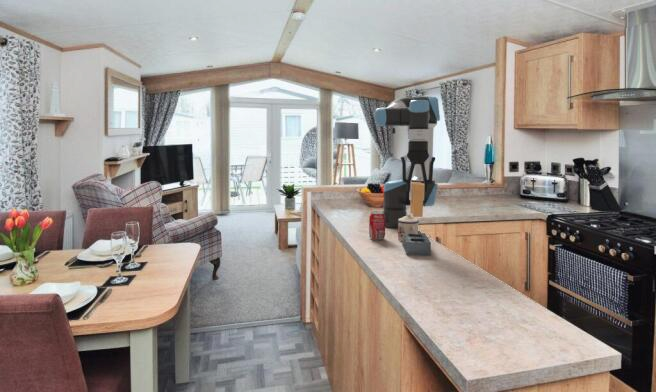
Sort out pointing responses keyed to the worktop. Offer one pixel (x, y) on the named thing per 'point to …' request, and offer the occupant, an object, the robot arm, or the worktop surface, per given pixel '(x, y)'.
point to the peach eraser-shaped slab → (417, 199)
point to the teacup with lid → (407, 225)
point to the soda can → (377, 225)
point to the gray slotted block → (416, 244)
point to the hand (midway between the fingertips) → (416, 199)
